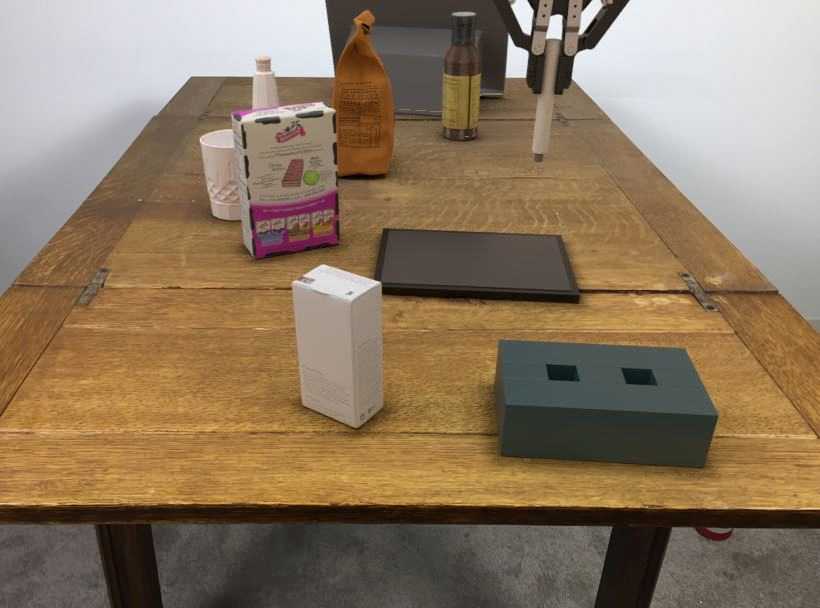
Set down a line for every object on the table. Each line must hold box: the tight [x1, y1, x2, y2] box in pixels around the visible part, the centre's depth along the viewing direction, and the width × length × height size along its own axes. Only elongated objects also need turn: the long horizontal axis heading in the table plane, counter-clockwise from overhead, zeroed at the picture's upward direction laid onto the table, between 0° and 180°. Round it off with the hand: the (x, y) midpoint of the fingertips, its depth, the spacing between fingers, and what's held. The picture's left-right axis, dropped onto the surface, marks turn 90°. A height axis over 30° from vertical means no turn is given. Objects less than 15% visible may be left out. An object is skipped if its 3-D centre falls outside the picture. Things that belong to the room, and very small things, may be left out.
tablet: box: [373, 227, 581, 304], centre depth 91 cm, size 16×22×1 cm
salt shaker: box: [251, 55, 281, 110], centre depth 141 cm, size 5×5×11 cm
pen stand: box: [493, 338, 720, 468], centre depth 64 cm, size 10×16×5 cm, turn 85°
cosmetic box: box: [291, 263, 385, 429], centre depth 64 cm, size 6×4×12 cm
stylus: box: [531, 37, 562, 163], centre depth 79 cm, size 2×2×12 cm
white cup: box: [199, 128, 242, 221], centre depth 103 cm, size 8×8×10 cm
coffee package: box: [330, 10, 396, 178], centre depth 116 cm, size 10×12×22 cm
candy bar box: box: [230, 101, 341, 260], centre depth 92 cm, size 11×5×16 cm, turn 114°
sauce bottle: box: [441, 12, 481, 142], centre depth 130 cm, size 6×6×20 cm
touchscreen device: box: [324, 0, 510, 117], centre depth 148 cm, size 35×20×30 cm, turn 77°
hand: (547, 92), depth 78 cm, fingers closed on stylus, 1 cm apart
